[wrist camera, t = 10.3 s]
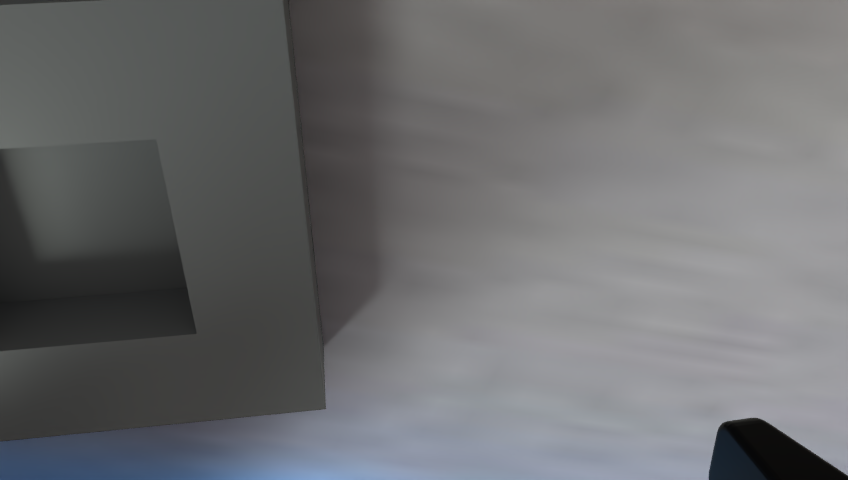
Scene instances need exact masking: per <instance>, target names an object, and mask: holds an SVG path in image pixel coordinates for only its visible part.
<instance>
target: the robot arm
mask: <svg viewBox="0 0 848 480" xmlns="http://www.w3.org/2000/svg"><path fill="white" fill-rule="evenodd" d="M709 480H848V476H847V475H846V474H844V473H843V472H841V471H840V470H838V469H837V468H835V467H834V466H832V465H831V464H829V463H828V462H826V461H825V460H823V459H822V458H820V457H819V456H817V455H816V454H814V453H813V452H811V451H810V450H808V449H807V448H805V447H804V446H802V445H801V444H799V443H798V442H796V441H795V440H793V439H792V438H790V437H789V436H787V435H786V434H784V433H783V432H781V431H780V430H778V429H777V428H775V427H774V426H772V425H770V424H769V423H767V422H766V421H764V420H761V419H759V418H747V419H740V420H733V421H727V422H724V423H722V424H721V426H720V427H719V429H718V432H717V436H716V441H715V445H714V450H713V455H712V460H711V465H710V470H709Z"/></svg>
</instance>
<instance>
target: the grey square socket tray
mask: <svg viewBox="0 0 848 480" xmlns="http://www.w3.org/2000/svg"><path fill="white" fill-rule="evenodd" d="M321 409H326V402H325V375H324V348H323V338H322V328H321V318H320V309H319V299H318V289H317V279H316V269H315V259H314V249H313V240H312V230H311V220H310V210H309V200H308V190H307V180H306V171H305V161H304V151H303V141H302V131H301V121H300V111H299V102H298V92H297V82H296V72H295V62H294V52H293V42H292V32H291V23H290V13H289V3H288V0H0V441H9V440H19V439H29V438H39V437H49V436H59V435H69V434H80V433H90V432H100V431H110V430H120V429H130V428H140V427H150V426H160V425H170V424H180V423H190V422H201V421H211V420H221V419H231V418H241V417H251V416H261V415H271V414H281V413H291V412H301V411H311V410H321Z"/></svg>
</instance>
